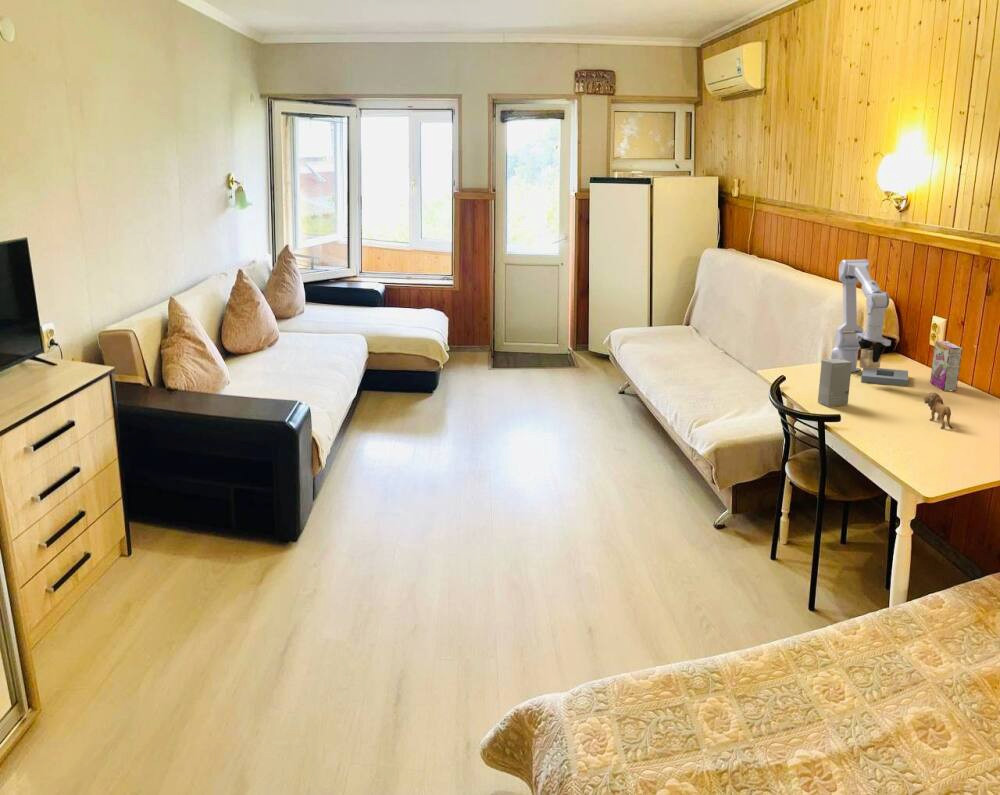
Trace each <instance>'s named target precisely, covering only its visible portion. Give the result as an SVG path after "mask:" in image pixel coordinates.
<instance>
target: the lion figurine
mask: <svg viewBox="0 0 1000 795" xmlns="http://www.w3.org/2000/svg"><path fill="white" fill-rule="evenodd" d="M922 399H923V402H924V404H927V406H928V407H929V409H930V411H931V413H930V414H931V417H930V418H929V421H931V422H933V421H935V419H936V420H937V421H940V422H941V426H940V429H943V430H944V429H945V428H946V427H949V429H950V430H953V429H954V427H953V426H952V425H951V422H950V421H951V416H952V410H951V408H950V407H949V406H948V405H945V404H944V400H943V398H942V397H941V396H940V395H939V394H938V393H936V392H934V391H930V392H929V394H928V395H926V397H923V398H922ZM936 414H937V417H936V418H935V415H936ZM945 416H946V423H945Z"/></svg>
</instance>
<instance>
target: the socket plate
mask: <svg viewBox="0 0 1000 795" xmlns="http://www.w3.org/2000/svg"><path fill="white" fill-rule="evenodd" d="M860 380H861V381H860V383H866V382H869V383H868V384H877V383H880V384H879V385H888V386H900V387H908V384H909V370H905V369H892V368H881V367H880V368H874V369H869V370H867V369H864V368H862V372H861V379H860Z"/></svg>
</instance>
